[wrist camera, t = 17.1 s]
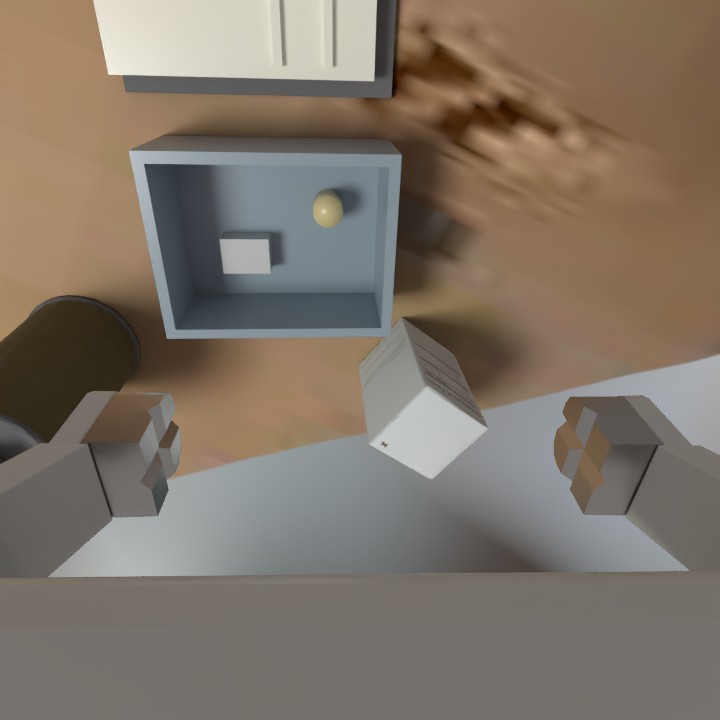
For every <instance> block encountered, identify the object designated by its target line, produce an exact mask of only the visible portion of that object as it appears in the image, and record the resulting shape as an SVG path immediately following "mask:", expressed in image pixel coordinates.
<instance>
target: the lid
mask: <svg viewBox="0 0 720 720" xmlns="http://www.w3.org/2000/svg"><path fill="white" fill-rule="evenodd" d="M93 1H94V6H95V11H96V16H97V21H98V25H99V30H100V35H101V40H102V45H103V50H104V54H105V59H106V64H107V69H108V74H109V75H147V76H186V77H225V78H263V79H302V80H341V81H374V72H375V42H376V13H377V0H93Z"/></svg>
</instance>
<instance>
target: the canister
mask: <svg viewBox="0 0 720 720" xmlns="http://www.w3.org/2000/svg"><path fill="white" fill-rule="evenodd" d="M139 359H140V350H139V344H138V341H137V338H136V336H135V333H134V331H133V330H132V329H131V327H130V326H129V325H128V323H127V322H126V321H125V320H124V319H123V318H121V317H120V316H119V315H118V314H117V313H116V312H115V311H114V310H112V309H110V308H109V307H107V306H105V305H103V304H101V303H99V302H97V301H95V300H91V299H87V298H83V297H74V296H63V297H56V298H53V299H50V300H47V301H45V302H44V303H42V304H40V305H38V306H37V307H36V308H35V309H34V310H33V311H32V313H31V314H30V315H29V317H28V319H26V320H25V321H24V322H23V323H22V324H21V325H19V326H18V327H17V328H16V329H15V330H14V331H13V332H11V333H10V334H9V335H8V336H7V337H6V338H4V339H3V340H2V341H1V342H0V464H2V463H4V462H6V461H8V460H9V459H11V458H13V457H15V456H17V455H19V454H21V453H23V452H25V451H27V450H29V449H31V448H32V447H34V446H36V445H38V444H40V443H49V442H50V441H51V440H52V438H53V437H54V436H55V434H56V433H57V432H58V431H59V429H60V428H61V427H62V425H63V424H64V423H65V421H66V420H67V419H68V417H69V416H70V415H71V414H72V412H73V411H74V410H75V408H76V407H77V406H78V404H79V403H80V402H81V401H82V399H83V398H84V397H85V395H86V394H87V393H90V392H92V391H116V392H119V391H120V390H121V389H122V387H123V385H124V384H125V382H126V381H127V380H128V379H129V378H130V377H131V376H132V375H133V374H134V373H135V371H136V369H137V366H138V363H139Z"/></svg>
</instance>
